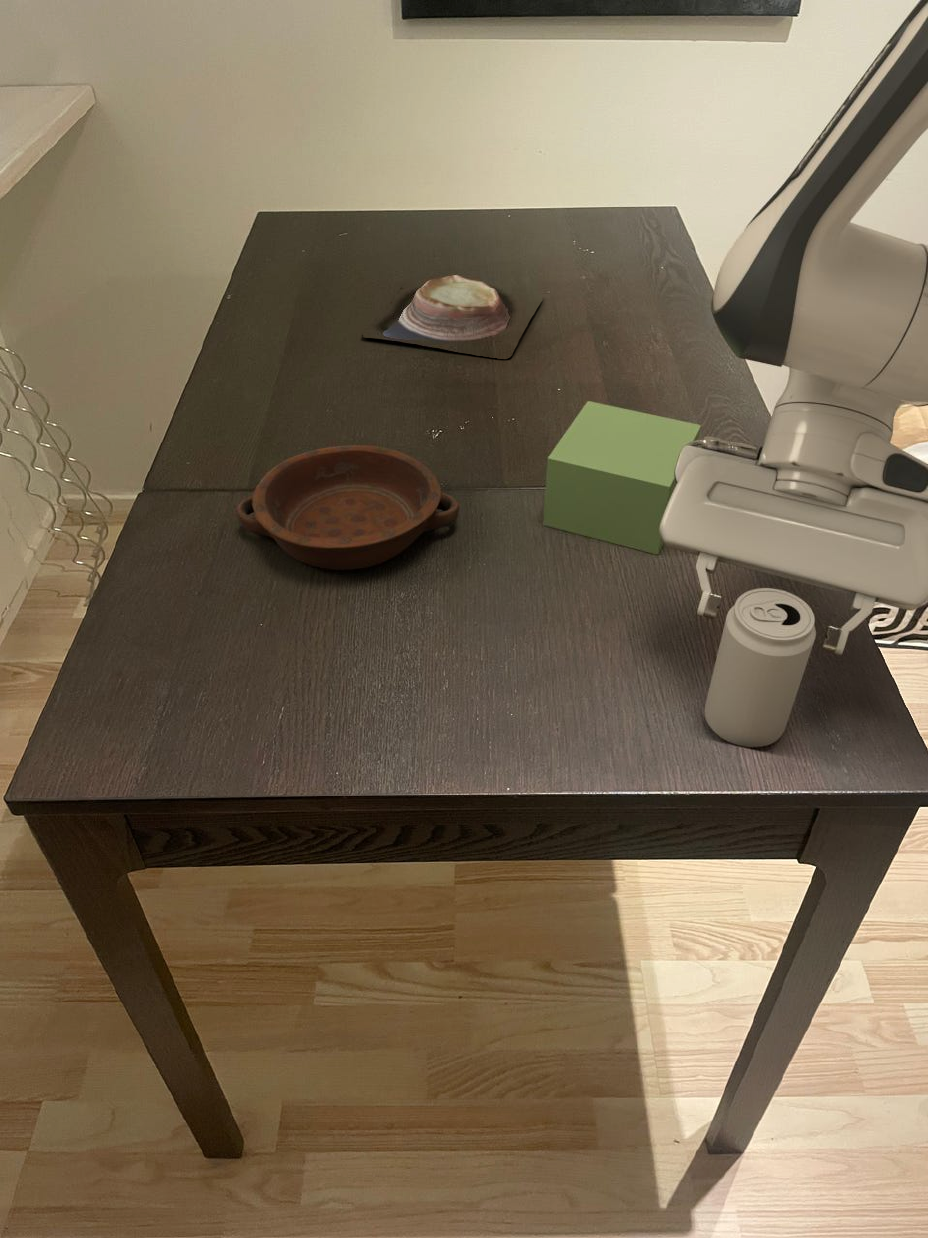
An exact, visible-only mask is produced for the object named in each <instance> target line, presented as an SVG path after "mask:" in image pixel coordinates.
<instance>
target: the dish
mask: <svg viewBox="0 0 928 1238" xmlns="http://www.w3.org/2000/svg"><path fill="white" fill-rule="evenodd" d="M442 491H443V490H442V486H441V484H440V482H439V481H438V478H436V476H435V475H434V473H433V472H432V471H431V470H430V469H429V468H428V467H427V466H426V465H425V464H424V463H423V462H421V461H420V460H419V459H416V458H415V457H412V456H410V455H408V454H406V453H403V452H400V451H398V450H395V449H392V448H388V447H384V446H377V445H359V444H355V445H353V444H351V445H337V446H329V447H323V448H318V449H314V450H309V451H306V452H304V453H301V454H300V453H299V454H298V455H294V456H292V457H290V458H287V459H286V460H285V459H284V461H282V462H280V463H278V464H277V465H275V466H274V467H273V468H271V470H269V471H268V472H267V473H266V474H265V475H264V476H263V477H262V478H261V479H260V482H259V483H258V484H257V485H256V487H255V490H253V492H252V495H251V496H249V497H246V498H244V499H242V501H240V502H239V503H238V505H237V506H236V516H237V518H238V520H239V522H240V525H241V526H242V528H244V529H245V530H246V531H247V532H250V533H252V534H257V535H260V536H265V537H269V538H272V539H273V540H274V541H275V542H276V543H277V545H278V546H279V547H280V548H281V549H282V550H283V551H284V552H285V553H286V554H288V555H289V556H290V557H291V558H293V559H295V560H297V561H298V562H301V563H303V564H305V565H308V566H311V567H315V568H320V569H326V570H333V571H334V570H335V571H349V570H358V569H365V568H369V567H373V566H377V565H380V564H382V563H384V562H386V561H388V560H390V559H392V558H394V557H396V556H398V555H399V554H401V553H402V552H404V551H405V550H406V549H407V548H408V547H410V546H411V545H412V544H413V543H414V542H415V541H416V540H417V539H418V538H419V537H420V536H421V535H422V534H423V533H424V532H427V531H432V530H437V529H442V528H446V527H447V528H448V527H449V526H451V525H454V523H456V521H457V520H458V517H459V511H460V504H459V501H458V500H456V498H454V497H453V496H452V495H450V494H447V493H444V492H442ZM438 510H439V511H438ZM253 513H254V516H250V515H251V514H253Z"/></svg>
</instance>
